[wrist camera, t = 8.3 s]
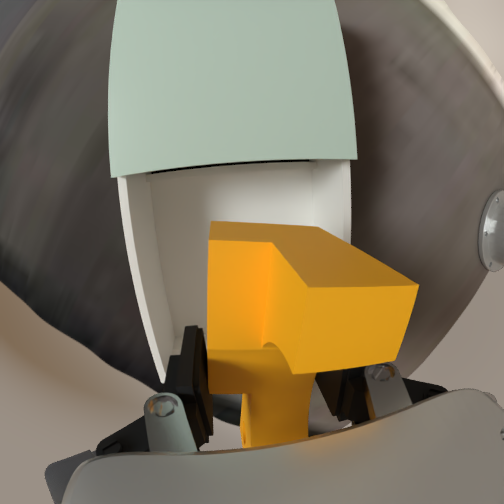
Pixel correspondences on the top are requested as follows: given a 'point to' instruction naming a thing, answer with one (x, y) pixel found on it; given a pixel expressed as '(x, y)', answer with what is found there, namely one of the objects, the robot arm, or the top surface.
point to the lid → (227, 84)
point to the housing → (198, 227)
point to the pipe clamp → (294, 319)
